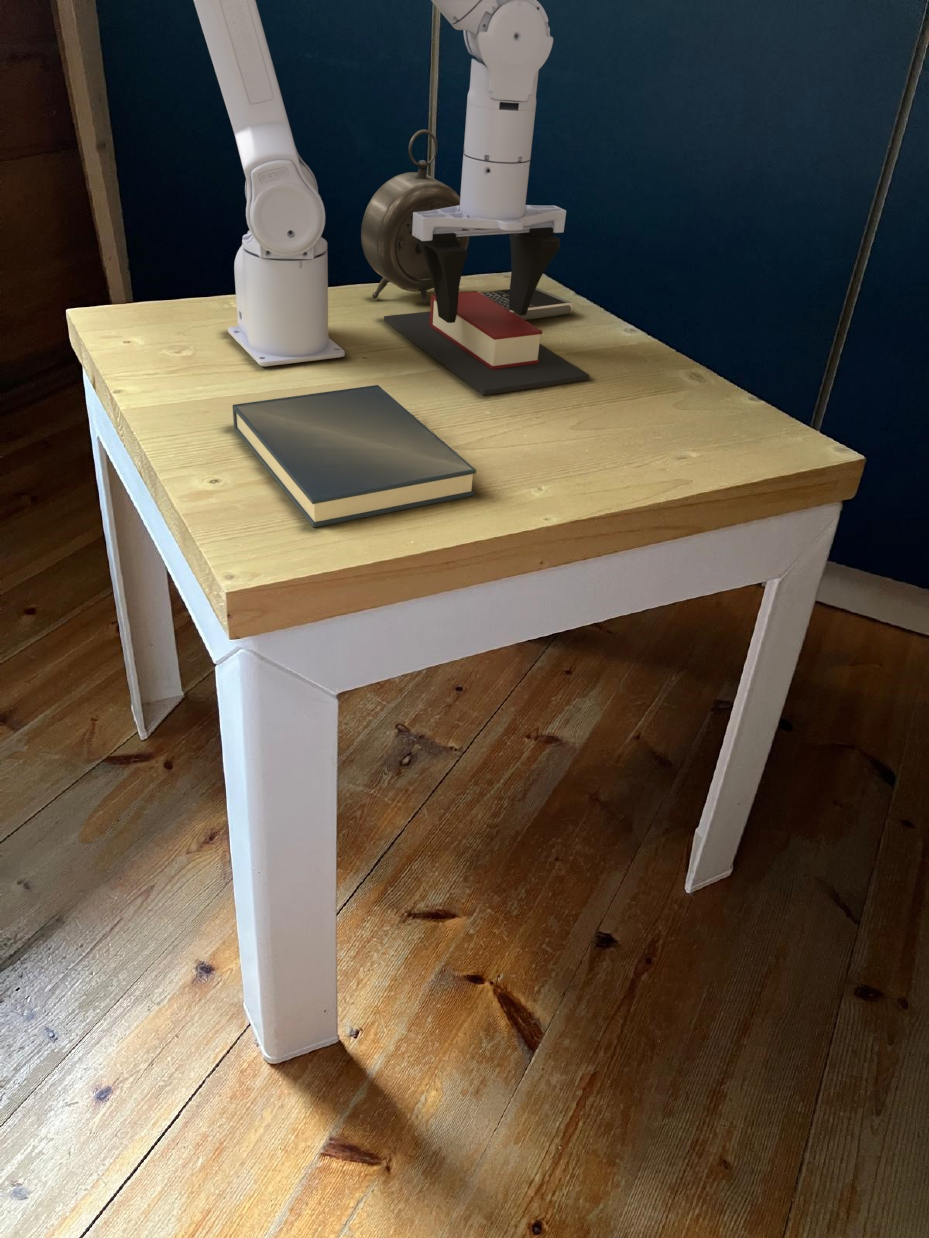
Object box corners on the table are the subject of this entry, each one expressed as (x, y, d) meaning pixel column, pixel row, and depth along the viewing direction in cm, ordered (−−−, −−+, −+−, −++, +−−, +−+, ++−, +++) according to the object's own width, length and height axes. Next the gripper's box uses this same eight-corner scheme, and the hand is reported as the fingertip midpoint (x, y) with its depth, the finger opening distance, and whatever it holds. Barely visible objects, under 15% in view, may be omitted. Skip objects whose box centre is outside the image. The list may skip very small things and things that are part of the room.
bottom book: (233, 429, 75) (232, 404, 73) (377, 408, 80) (377, 384, 79) (313, 527, 63) (312, 500, 62) (473, 495, 69) (476, 469, 67)
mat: (383, 321, 97) (383, 316, 97) (479, 310, 102) (479, 306, 102) (483, 395, 83) (483, 390, 83) (588, 380, 88) (589, 374, 88)
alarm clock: (446, 285, 108) (455, 123, 99) (472, 300, 105) (485, 133, 95) (358, 296, 103) (359, 126, 94) (382, 311, 100) (387, 136, 90)
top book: (429, 325, 96) (431, 295, 94) (474, 321, 98) (476, 290, 96) (491, 369, 87) (494, 336, 85) (538, 363, 89) (542, 330, 88)
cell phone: (459, 308, 100) (461, 294, 100) (537, 298, 107) (539, 285, 106) (499, 326, 97) (501, 312, 96) (577, 315, 103) (579, 302, 102)
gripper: (443, 168, 77) (433, 337, 85) (593, 164, 83) (571, 322, 91) (404, 150, 82) (398, 312, 90) (548, 148, 88) (531, 299, 96)
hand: (482, 315), depth 91 cm, fingers open, 7 cm apart
